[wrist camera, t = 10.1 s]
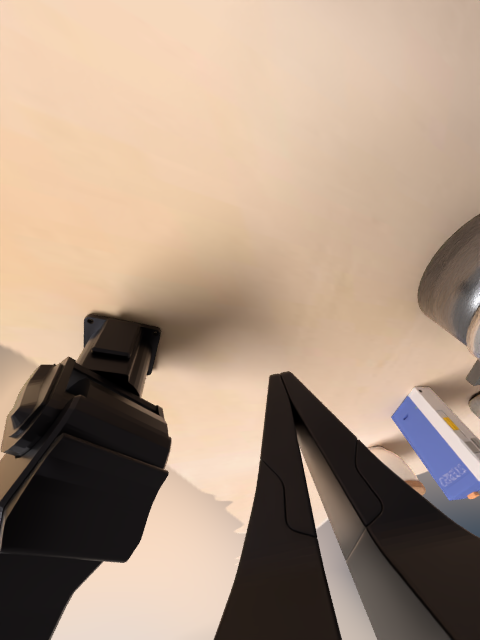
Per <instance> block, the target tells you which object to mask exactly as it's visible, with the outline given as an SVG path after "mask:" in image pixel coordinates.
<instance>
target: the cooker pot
mask: <svg viewBox="0 0 480 640" xmlns="http://www.w3.org/2000/svg"><path fill="white" fill-rule="evenodd" d="M418 303H419V307H420V309H421V310H422V312H423V313H424V314H425V315H426V316H428V317H429V318H430V319H432V320H433V321H434V322H436V323H437V324H438V325H440V326H441V327H442V328H444V329H445V330H446V331H447V332H449V333H450V334H451V335H453V336H454V337H455V338H457V339H458V340H459V341H461V342H462V343H463V344H465V345H466V346H467V343H466V337H467V331H468V328H469V325H470V323H471V321H472V319H473V317H474V315H475V313H476V312H477V310H478V308H479V307H480V214H479V215H478V216H476V217H475V218H473V219H472V220H471V221H469V222H468V223H466V224H465V225H464V226H463V227H461V228H460V229H459V230H458V231H457V232H456V233H454V234H453V235H452V236H451V237H450V238H449V239H448V240H447V241H446V242H445V244H444V245H443V246H442V247H441V248H440V249H439V250H438V252H437V253H436V254H435V256H434V257H433V258H432V260H431V262H430V263H429V265H428V266H427V268H426V270H425V272H424V274H423V276H422V279H421V281H420V285H419V289H418ZM466 380H467V381H468V382H469V383H471V384H472V385H473V386H476V385H480V360H479V359H478V360H477V361H476V363H475V365H474V366H473V368H472V369H471V371H470V373H469V374H468V376H467V377H466Z"/></svg>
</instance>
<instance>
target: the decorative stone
mask: <svg viewBox="0 0 480 640" xmlns="http://www.w3.org/2000/svg"><path fill="white" fill-rule="evenodd" d="M469 407H470V409H471V411H472V412H473V413H474V414H475V415H476V416H477V417H478V418H479V419H480V394H479V395H478V396H476V397H475V398H473V399H472V400H471V401H470V402H469Z"/></svg>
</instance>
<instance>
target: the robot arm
mask: <svg viewBox="0 0 480 640" xmlns="http://www.w3.org/2000/svg"><path fill="white" fill-rule="evenodd" d="M89 319H92V320H93V321H91V320H89ZM154 332H157V333H154ZM160 334H161V330H160V328H158V327H154V326H149V325H144V324H139V323H134V322H129V321H124V320H118V319H113V318H108V317H103V316H98V315H93V314H89V315H87V316H86V317H85V319H84V349H83V351H82V353H81V354H80V356H79V358H78V360H77V361H76V360H74V359H72V358H70V357H67V358H66V359H65V360H63V361H62V362H61V363H59V364H58V365H55V364H54V365H40V366H39V367H38V368H37V369H36V370H35V371H34V373H33V374H32V375H31V376H30V378H29V379H28V380H27V382H26V383H25V385H24V386H23V387H22V389H21V391H20V392H19V395H18V397H17V400H16V402H15V405H14V408H13V409H12V410H11V411H10V413H9V414H8V416H7V420H6V425H5V430H4V435H3V441H2V446H1V452H4V453H6V454H5V455H4V457H3V458H2V459H1V461H0V640H51V637H52V635H53V633H54V631H55V629H56V627H57V625H58V623H59V620H60V619H61V616H62V614H63V612H64V610H65V608H66V606H67V604H68V602H69V601H70V598H71V597H72V595H73V593H74V592H75V591H76V590H77V589H78V588H79V587H80V586H81V584H82V583H83V582H84V581H85V580H86V579H87V578H88V577H89V576H90V575H91V574H92V573H93V572H94V571H95V570H96V569H97V568H98V567H99V566H100V565H101V563H102V562H103V561H107V562H120V563H124V562H126V561H127V560H128V559H129V558H130V556H131V555H132V553H133V551H134V550H135V549H136V547H137V545H138V544H139V542H140V540H141V537H142V534H143V531H144V528H145V525H146V521H147V518H148V515H149V512H150V509H151V506H152V504H153V501H154V499H155V497H156V495H157V493H158V491H159V489H160V487H161V485H162V484H163V482H164V481H165V479H166V478H167V476H168V471H167V470H164V469H165V466H166V463H167V460H168V456H169V453H170V448H171V437H169V436H168V428H167V423H166V422H165V420H164V415H163V409H162V408H161V407H159V406H155V405H153V404H151V403H150V402H148V401H146V400H144V399H142V398H141V396H142V392H143V388H144V384H145V379H146V375H150V374H151V373H152V369H153V364H154V360H155V356H156V351H157V347H158V343H159V339H160ZM299 446H300V448H299ZM300 449H301V451H302V454H303V456H304V458H305V461H306V463H307V466H308V468H309V471H310V473H311V476H312V478H313V481H314V483H315V486H316V488H317V491H318V493H319V496H320V498H321V501H322V503H323V506H324V508H325V511H326V513H327V516H328V518H329V521H330V523H331V525H332V528H333V530H334V533H335V535H336V538H337V540H338V543H339V545H340V548H341V550H342V553H343V555H344V557H345V560H346V563H347V565H348V567H349V570H350V573H351V575H352V578H353V580H354V583H355V585H356V587H357V590H358V592H359V595H360V598H361V600H362V602H363V605H364V607H365V610H366V612H367V615H368V617H369V620H370V622H371V625H372V627H373V630H374V632H375V635H376V637H377V640H480V538H479V537H477V536H475V535H474V534H472V533H470V532H469V531H467V530H466V529H464V528H463V527H461V526H460V525H458V524H456V523H455V522H454V521H453V520H451V519H450V518H449V517H447V516H446V515H445V514H444V513H442V512H441V511H440V510H439V509H437V508H436V507H435V506H434V505H433V504H431V503H430V502H429V501H428V500H427V499H425V498H424V497H423V496H422V495H421V494H419V493H418V492H417V491H416V490H415V489H413V488H412V487H411V486H410V485H409V484H407V483H406V482H405V481H404V480H403V479H401V478H400V477H399V476H398V475H397V474H395V473H394V472H393V471H392V470H391V469H390V468H388V467H387V466H386V465H385V464H384V463H383V462H382V461H381V460H379V459H378V458H377V457H376V456H375V455H374V454H373V453H372V452H371V451H370V450H369V449H368V448H367V447H366V446H365V445H364V444H363V443H362V442H361V441H360V440H357V437H356V436H355V435H354V434H353V433H352V432H351V431H350V430H349V429H348V428H347V427H346V426H345V425H344V424H343V423H342V422H341V421H340V420H339V419H338V418H337V417H336V416H335V415H334V414H333V413H332V412H331V411H330V410H329V409H328V408H327V407H326V406H324V405H323V404H322V403H321V402H320V401H319V400H318V399H317V398H316V397H315V396H314V395H313V394H312V393H311V392H310V391H309V390H308V389H307V388H306V387H305V386H304V385H303V384H302V383H301V382H300V381H299V380H298V379H297V378H296V377H295V376H294V375H293V374H292V373H291V372H289V371H288V372H283V373H280V374H273V375H270V377H269V385H268V394H267V403H266V412H265V421H264V430H263V439H262V447H261V456H260V459H261V460H260V464H259V473H258V480H257V487H256V492H255V497H254V502H253V507H252V511H251V516H250V520H249V524H248V528H247V533H246V537H245V541H244V546H243V550H242V554H241V558H240V562H239V566H238V570H237V574H236V577H235V580H234V583H233V587H232V589H231V593H230V595H229V598H228V601H227V604H226V607H225V609H224V612H223V615H222V618H221V621H220V624H219V627H218V629H217V632H216V635H215V638H214V640H342V638H341V634H340V631H339V627H338V623H337V619H336V615H335V611H334V607H333V603H332V599H331V595H330V591H329V587H328V583H327V579H326V575H325V571H324V567H323V562H322V558H321V553H320V549H319V544H318V539H317V534H316V528H315V523H314V518H313V513H312V508H311V503H310V498H309V493H308V488H307V483H306V478H305V473H304V468H303V463H302V458H301V453H300Z"/></svg>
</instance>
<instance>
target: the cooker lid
mask: <svg viewBox="0 0 480 640" xmlns="http://www.w3.org/2000/svg"><path fill="white" fill-rule="evenodd" d="M466 343H467V347H468V350H469V351H470V353H471V354H472V355H473V356H475V357H476V358H477V359H479V360H480V307H479V308H478V310H477V312H476V313H475V315H474V317H473V319H472V321H471V323H470V325H469V328H468V331H467V337H466Z"/></svg>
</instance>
